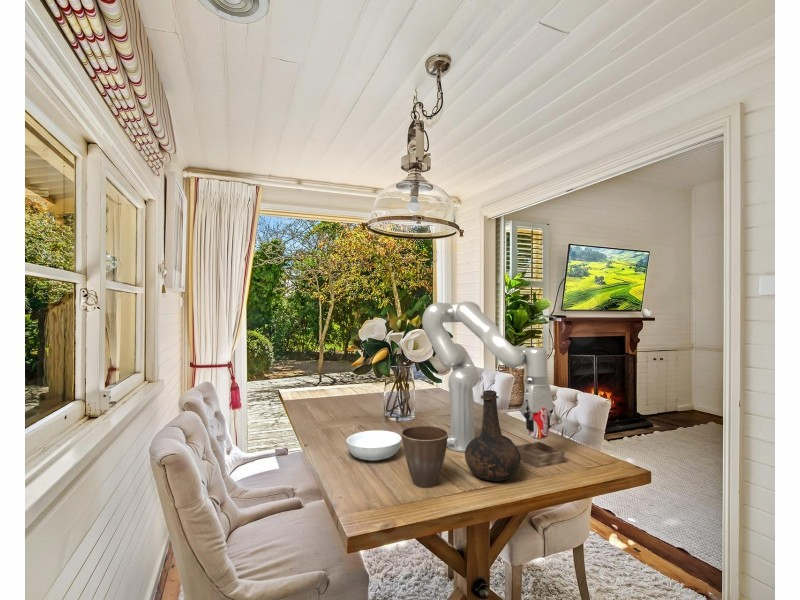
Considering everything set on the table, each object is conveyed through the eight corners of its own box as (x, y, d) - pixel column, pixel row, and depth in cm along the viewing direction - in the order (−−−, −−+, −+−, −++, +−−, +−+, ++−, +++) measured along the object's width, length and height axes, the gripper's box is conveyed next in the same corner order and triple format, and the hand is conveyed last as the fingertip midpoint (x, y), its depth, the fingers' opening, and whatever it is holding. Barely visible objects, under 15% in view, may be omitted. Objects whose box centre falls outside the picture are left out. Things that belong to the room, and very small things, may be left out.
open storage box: (536, 468, 137) (536, 457, 137) (510, 454, 150) (510, 445, 150) (567, 461, 142) (566, 452, 143) (539, 449, 155) (539, 440, 155)
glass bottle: (532, 479, 128) (530, 392, 129) (492, 492, 118) (491, 399, 119) (492, 461, 143) (491, 384, 144) (454, 472, 134) (453, 389, 135)
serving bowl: (376, 443, 164) (376, 426, 164) (413, 456, 149) (412, 437, 149) (335, 456, 149) (335, 438, 150) (371, 472, 135) (371, 451, 135)
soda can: (539, 441, 142) (538, 407, 142) (524, 436, 148) (523, 403, 148) (552, 438, 145) (551, 405, 145) (538, 433, 151) (537, 401, 152)
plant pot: (458, 485, 123) (458, 434, 124) (419, 498, 115) (419, 443, 116) (429, 470, 136) (429, 423, 136) (393, 480, 128) (392, 430, 128)
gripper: (525, 384, 140) (526, 434, 140) (562, 380, 147) (563, 428, 146) (511, 381, 147) (512, 429, 146) (547, 377, 154) (548, 423, 153)
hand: (538, 428), depth 146 cm, fingers closed on soda can, 7 cm apart
